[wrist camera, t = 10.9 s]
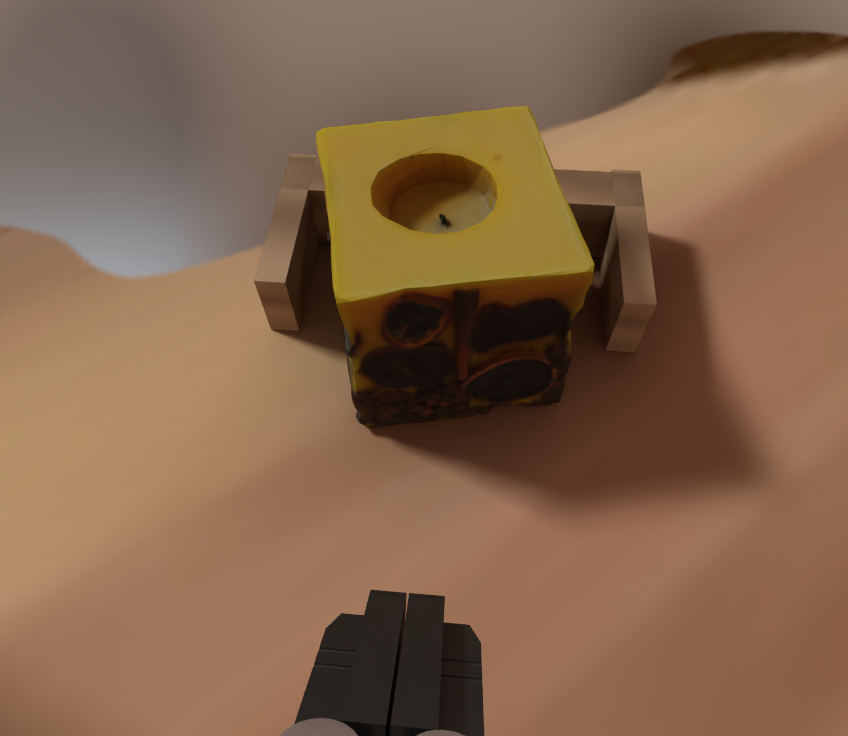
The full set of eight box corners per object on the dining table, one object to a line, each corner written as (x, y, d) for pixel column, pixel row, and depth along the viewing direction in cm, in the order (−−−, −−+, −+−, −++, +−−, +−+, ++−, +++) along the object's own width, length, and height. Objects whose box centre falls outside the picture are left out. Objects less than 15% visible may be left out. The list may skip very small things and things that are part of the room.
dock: (634, 352, 34) (656, 304, 31) (271, 329, 35) (254, 280, 32) (622, 224, 39) (640, 170, 36) (301, 207, 40) (289, 153, 37)
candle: (562, 406, 33) (607, 274, 24) (358, 435, 32) (330, 310, 24) (515, 251, 38) (539, 99, 30) (339, 273, 38) (312, 124, 29)
